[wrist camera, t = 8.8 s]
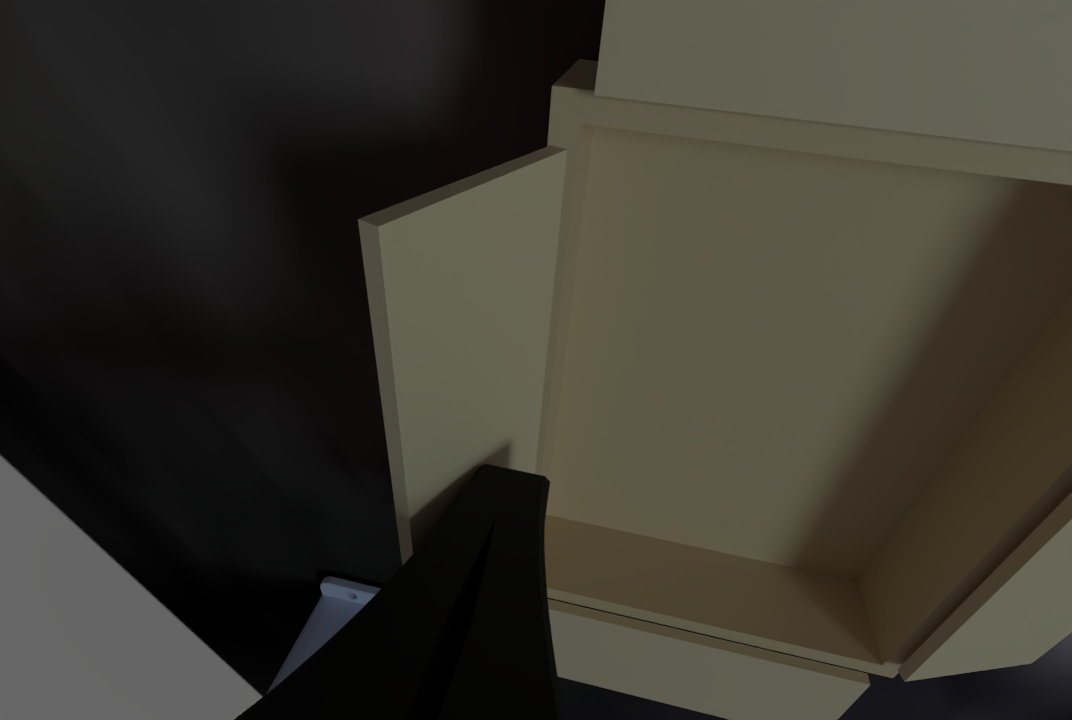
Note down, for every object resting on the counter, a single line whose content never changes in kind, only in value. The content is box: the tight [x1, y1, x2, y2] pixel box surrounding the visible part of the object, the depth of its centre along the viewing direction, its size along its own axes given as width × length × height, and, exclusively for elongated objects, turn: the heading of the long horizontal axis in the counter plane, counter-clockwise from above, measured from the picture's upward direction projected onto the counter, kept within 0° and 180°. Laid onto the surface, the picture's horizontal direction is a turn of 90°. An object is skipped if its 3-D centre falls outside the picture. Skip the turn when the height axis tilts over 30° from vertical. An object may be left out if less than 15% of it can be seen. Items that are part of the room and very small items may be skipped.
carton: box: [535, 0, 1072, 720], centre depth 13 cm, size 11×22×3 cm, turn 176°
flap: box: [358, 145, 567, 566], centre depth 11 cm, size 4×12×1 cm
